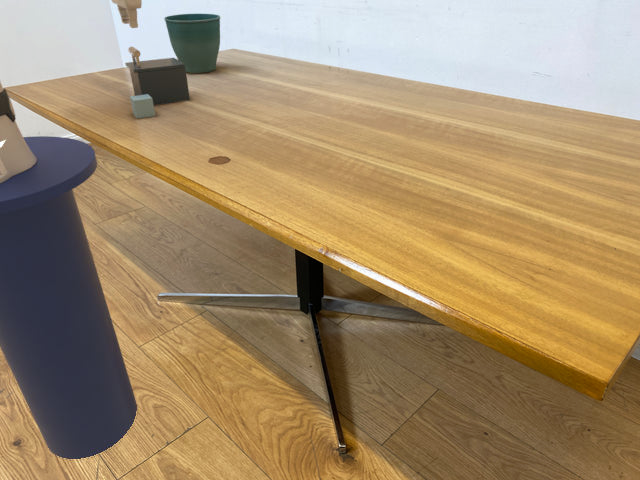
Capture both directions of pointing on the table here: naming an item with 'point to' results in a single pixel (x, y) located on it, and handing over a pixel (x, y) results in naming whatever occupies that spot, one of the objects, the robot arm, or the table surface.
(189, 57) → the flower pot
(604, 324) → the table surface
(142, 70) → the lid
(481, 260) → the table surface
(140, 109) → the block
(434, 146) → the table surface
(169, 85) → the dark grey open box
